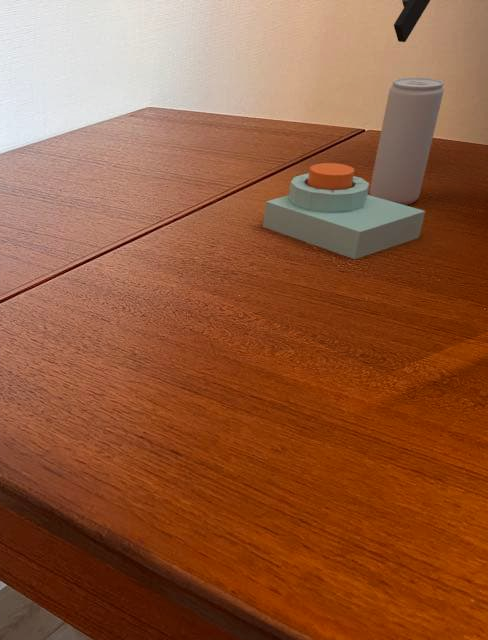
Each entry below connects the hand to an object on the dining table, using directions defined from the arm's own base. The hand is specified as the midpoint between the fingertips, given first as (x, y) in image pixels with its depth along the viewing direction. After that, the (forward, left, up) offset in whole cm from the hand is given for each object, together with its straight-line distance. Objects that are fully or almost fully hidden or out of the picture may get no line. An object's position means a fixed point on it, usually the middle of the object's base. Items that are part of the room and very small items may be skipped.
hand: (458, 39), depth 88 cm
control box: (-5, +20, -15) cm, 25 cm away
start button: (-3, +20, -11) cm, 23 cm away
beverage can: (-2, +8, -15) cm, 17 cm away
